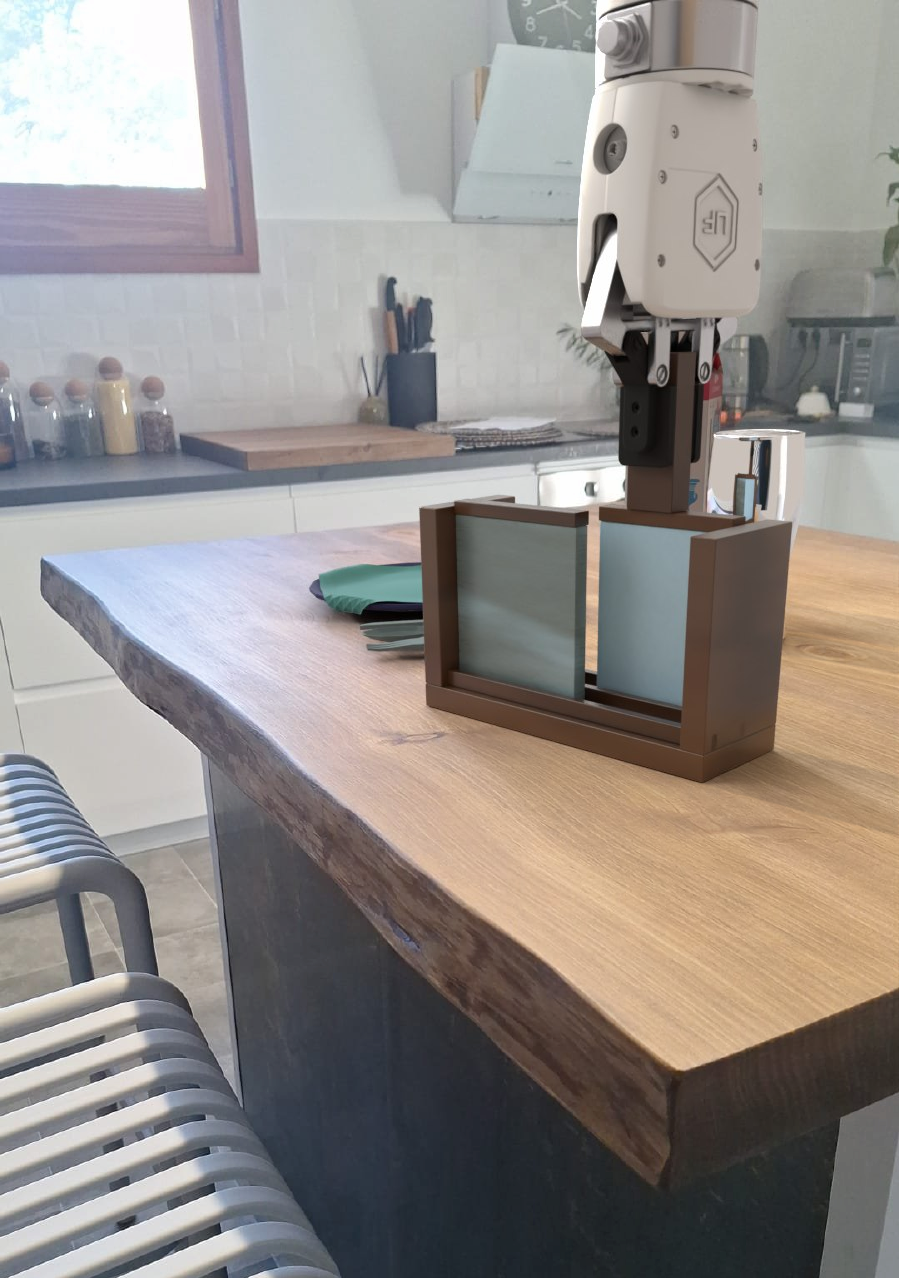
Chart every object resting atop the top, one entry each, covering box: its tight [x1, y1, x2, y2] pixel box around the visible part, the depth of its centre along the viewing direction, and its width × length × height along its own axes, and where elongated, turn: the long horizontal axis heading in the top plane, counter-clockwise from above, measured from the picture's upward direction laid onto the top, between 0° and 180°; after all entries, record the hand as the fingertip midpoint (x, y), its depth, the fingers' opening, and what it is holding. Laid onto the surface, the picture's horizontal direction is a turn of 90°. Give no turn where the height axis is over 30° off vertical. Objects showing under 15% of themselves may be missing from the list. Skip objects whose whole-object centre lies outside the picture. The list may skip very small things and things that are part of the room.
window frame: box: [418, 494, 792, 783], centre depth 66 cm, size 7×21×13 cm, turn 44°
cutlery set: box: [308, 561, 424, 652], centre depth 98 cm, size 20×30×2 cm, turn 8°
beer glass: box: [706, 428, 807, 640], centre depth 85 cm, size 7×7×15 cm
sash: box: [596, 352, 746, 706], centre depth 62 cm, size 2×9×19 cm, turn 44°
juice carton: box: [624, 332, 724, 513], centre depth 97 cm, size 7×7×22 cm
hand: (659, 461), depth 61 cm, fingers closed on sash
